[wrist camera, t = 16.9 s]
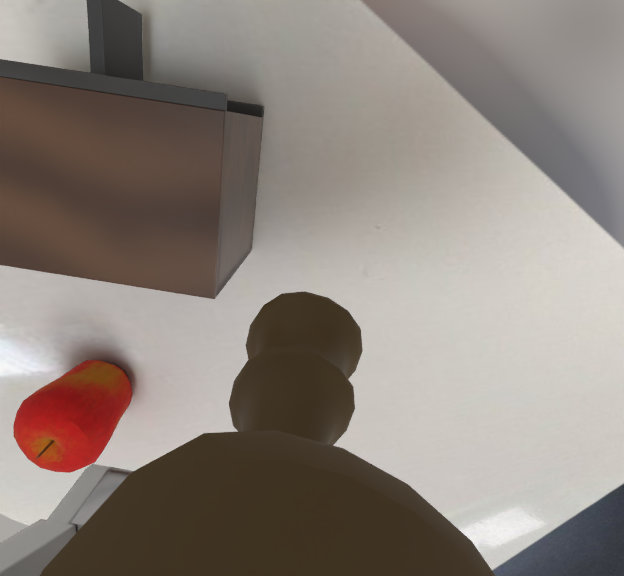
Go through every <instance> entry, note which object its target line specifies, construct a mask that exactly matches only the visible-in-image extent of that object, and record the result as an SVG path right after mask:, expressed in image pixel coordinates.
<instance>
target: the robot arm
mask: <svg viewBox="0 0 624 576" xmlns="http://www.w3.org/2000/svg"><path fill="white" fill-rule="evenodd" d="M132 472H134V471H130V470H124V469H119V468H114V467H107V466H102V465H96V464H92V465H91V466H89V467H88V468H87V469H85V471H84V472H83V473H82V475H81V476H80V477H79V479H78V480H77V481H76V482H75V484H74V485H73V486H72V488H71V489H70V490H69V492H68V493H67V494H66V496H65V497H64V498H63V499H62V501H61V502H60V503H59V505H58V506H57V507H56V509H55V510H54V511H53V513H52V514H51V515H50V516H49V518H48V519H47V520H42V519H40V520H39V521H37V522H35V523H34V524H32V525H30V526H28V527H27V528H25V529H23V530H22V531H20V532H18V533H17V534H15V535H13V536H12V537H10V538H8V539H6V540H5V541H3V542H1V543H0V576H40V575H41V573H42V571H43V569H44V568H45V567H46V566H47V565H48V564H49V563H50V562H51V560H52V559H53V558H54V557H55V556H56V555H57V554H58V553H59V552H60V550H61V549H62V548H63V547H64V546H65V545H66V544H67V543H68V542H69V540H70V539H71V538H72V537H73V536H74V535H75V534H76V533H77V532H78V531H79V529H80V528H81V527H82V526H83V525H84V524H85V523H86V522H87V521H88V519H89V518H90V517H91V516H92V515H93V514H94V513H95V512H96V511H97V509H98V508H99V507H100V506H101V505H102V504H103V503H104V502H105V501H106V499H107V498H108V497H109V496H110V495H111V494H112V493H113V492H114V491H115V490H116V488H117V487H118V486H119V485H120V484H121V483H122V482H123V481H124V480H125V478H126V477H127V476H128V475H129V474H130V473H132Z"/></svg>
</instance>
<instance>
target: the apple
mask: <svg viewBox="0 0 624 576" xmlns="http://www.w3.org/2000/svg"><path fill="white" fill-rule="evenodd" d="M131 397H132V389H131V384H130V381H129V379H128V377H127V375H126V374H125V372H124V371H123V370H122V369H120V368H119V367H118V366H116V365H113V364H110V363H106V362H103V361H100V360H86V361H85V362H83V363H81V364H79V365H78V366H76V367H75V368H73V369H72V370H70V371H69V372H67V373H66V374H64V375H63V376H62V377H60V378H58V379H57V380H55V381H53V382H51V383H50V384H48V385H46V386H44V387H42V388H41V389H39V390H37V391H36V392H35V393H33V394H32V395H31V396H29V397H28V398H27V399H25V400H24V401H23V403H22V404H21V406H20V408H19V409H18V411H17V414H16V418H15V422H14V437H15V439H16V441H17V443H18V445H19V447H20V449H21V450H22V451H23V453H24V454H25V455H26V457H27V458H28V459H29V460H30V461H32V462H33V463H35V464H36V465H37V466H39V467H40V468H43V469H47V470H51V471H55V472H73V471H75V470H78V469H81V468H83V467H85V466H87V465H90V464H92V463H94V462H95V461H96V460H97V458H98V457H99V456H100V454H101V453H102V452H103V450H104V448H105V447H106V445H107V443H108V442H109V440H110V438H111V436H112V434H113V432H114V430H115V428H116V426H117V424H118V422H119V420H120V418H121V417H122V415H123V414H124V412H125V410H126V409H127V407H128V406H129V404H130V401H131Z"/></svg>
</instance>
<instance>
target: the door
mask: <svg viewBox="0 0 624 576" xmlns="http://www.w3.org/2000/svg"><path fill="white" fill-rule="evenodd" d="M87 11H88V28H89V45H90V62H91V73H93V74H100V75H107V76H113V77H120V78H126V79H133V80H139V81H143V61H142V14H141V13H139V12H137V11H136V10H134V9H132V8H130V7H129V6H127V5H125V4H124V3H122V2H120V1H118V0H87Z"/></svg>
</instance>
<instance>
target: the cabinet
mask: <svg viewBox="0 0 624 576" xmlns="http://www.w3.org/2000/svg"><path fill="white" fill-rule="evenodd" d="M227 96H228V95H227V94H224V93H218V92H211V91H205V90H198V89H192V88H185V87H178V86H172V85H165V84H159V83H152V82H146V81H139V80H133V79H126V78H120V77H113V76H107V75H100V74H93V73H87V72H80V71H74V70H67V69H61V68H54V67H48V66H41V65H35V64H28V63H22V62H15V61H8V60H2V59H0V265H5V266H11V267H17V268H23V269H30V270H36V271H42V272H48V273H55V274H61V275H67V276H73V277H80V278H86V279H92V280H99V281H105V282H111V283H117V284H124V285H130V286H136V287H142V288H149V289H155V290H161V291H167V292H174V293H180V294H186V295H192V296H199V297H205V298H211V299H215V298H216V297H217V295H218V294H219V293H220V291H221V290H222V289H223V287H224V286H225V285H226V283H227V282H228V281H229V279H230V278H231V277H232V275H233V274H234V273H235V272H236V270H237V269H238V268H239V266H240V265H241V264H242V262H243V261H244V260H245V258H246V257H247V256H248V254H249V253H250V252H251V250H252V239H253V227H254V216H255V205H256V194H257V182H258V171H259V160H260V148H261V137H262V126H263V115H264V106H260V105H254V104H247V103H241V102H234V101H228V100H227Z"/></svg>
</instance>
